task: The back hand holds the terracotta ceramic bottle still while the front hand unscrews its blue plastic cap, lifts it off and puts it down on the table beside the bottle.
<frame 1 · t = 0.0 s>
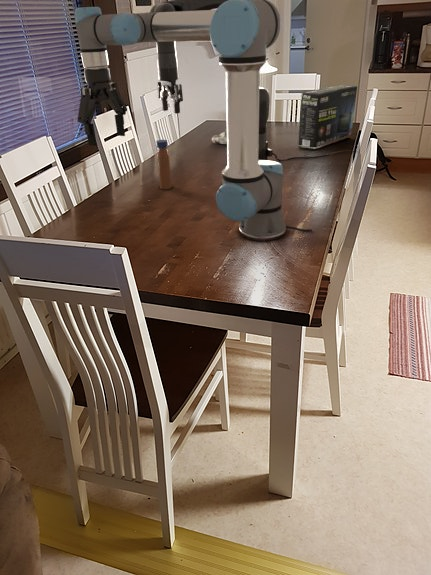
front hand: (107, 140, 148), 28 cm above the table, tool pointing down, fingers open, 13 cm apart
back hand: (171, 111, 179), 29 cm above the table, tool pointing down, fingers open, 8 cm apart
bottle: (166, 187, 192), on the table
router box: (325, 143, 245), on the table
fossil: (227, 142, 253), on the table
cap: (161, 141, 182), point 19 cm above the table, screwed on, not yet turned
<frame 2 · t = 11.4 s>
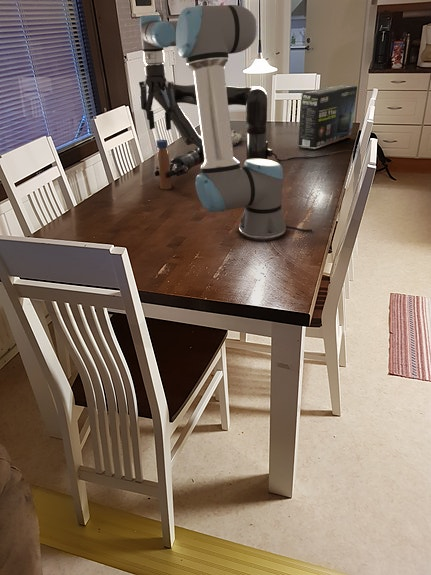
front hand: (160, 128, 179), 24 cm above the table, tool pointing down, fingers open, 7 cm apart
back hand: (161, 174, 186), 6 cm above the table, tool horizontal, fingers closed on bottle, 4 cm apart
bottle: (166, 187, 192), on the table, touching back hand
everything else where it was.
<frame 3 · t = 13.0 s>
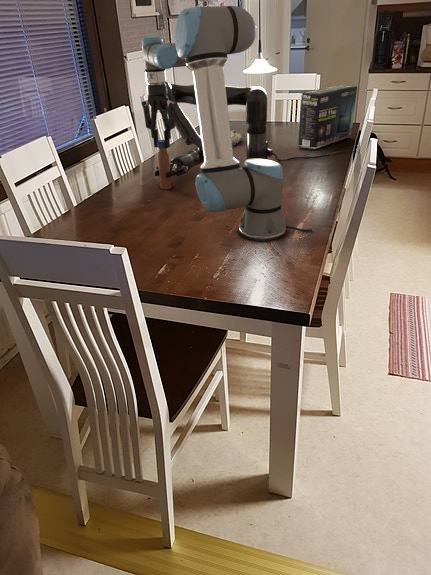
front hand: (162, 146, 183), 17 cm above the table, tool pointing down, fingers closed on cap, 4 cm apart
back hand: (161, 174, 186), 6 cm above the table, tool horizontal, fingers closed on bottle, 4 cm apart
bottle: (166, 187, 192), on the table, touching back hand
cap: (161, 141, 182), point 19 cm above the table, screwed on, not yet turned, touching front hand
everything else where it was.
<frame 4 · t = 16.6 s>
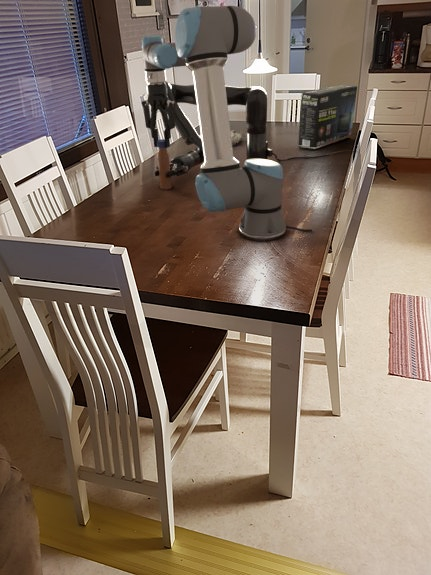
front hand: (162, 146, 183), 17 cm above the table, tool pointing down, fingers closed on cap, 4 cm apart
back hand: (161, 174, 186), 6 cm above the table, tool horizontal, fingers closed on bottle, 4 cm apart
bottle: (166, 187, 192), on the table, touching back hand
cap: (161, 141, 182), point 19 cm above the table, turned 111° so far, risen 0.1 cm, still on its thread, touching front hand
everything else where it was.
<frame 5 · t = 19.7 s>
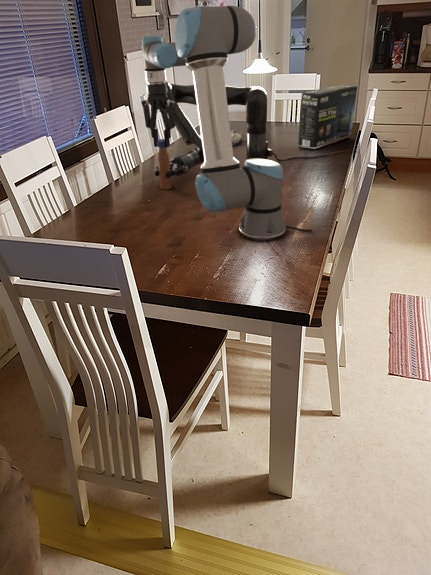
front hand: (162, 146, 183), 17 cm above the table, tool pointing down, fingers closed on cap, 4 cm apart
back hand: (161, 174, 186), 6 cm above the table, tool horizontal, fingers closed on bottle, 4 cm apart
bottle: (166, 187, 192), on the table, touching back hand
cap: (161, 141, 182), point 19 cm above the table, turned 223° so far, risen 0.2 cm, still on its thread, touching front hand
everything else where it was.
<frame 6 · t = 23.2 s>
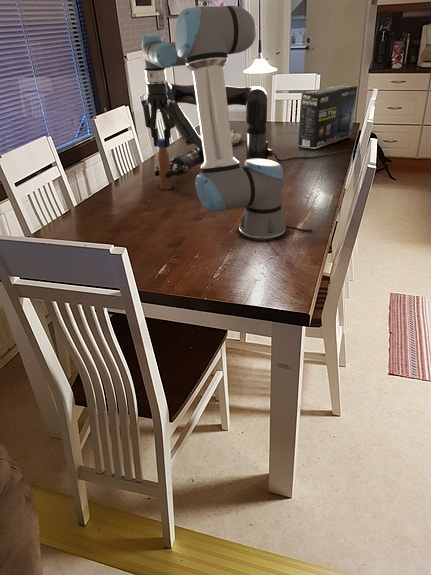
front hand: (162, 145, 183), 17 cm above the table, tool pointing down, fingers closed on cap, 4 cm apart
back hand: (161, 174, 186), 6 cm above the table, tool horizontal, fingers closed on bottle, 4 cm apart
bottle: (166, 187, 192), on the table, touching back hand
cap: (161, 140, 182), point 19 cm above the table, turned 334° so far, risen 0.3 cm, still on its thread, touching front hand
everything else where it was.
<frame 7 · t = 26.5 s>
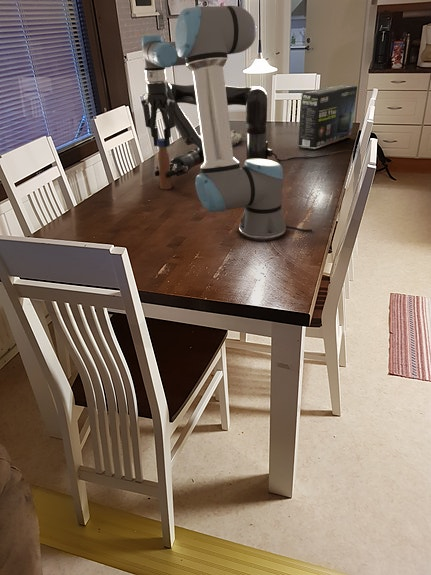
front hand: (162, 145, 183), 17 cm above the table, tool pointing down, fingers closed on cap, 4 cm apart
back hand: (161, 174, 186), 6 cm above the table, tool horizontal, fingers closed on bottle, 4 cm apart
bottle: (166, 187, 192), on the table, touching back hand
cap: (161, 140, 182), point 19 cm above the table, turned 446° so far, risen 0.5 cm, still on its thread, touching front hand
everything else where it was.
when the front hand's fingers open (1 cm above the table, at t = 32.6 s): cap stays where it is, point 2 cm above the table.
when the back hand's fingers open (6 cm above the table, at t = 33.9 s): bottle stays where it is, on the table.
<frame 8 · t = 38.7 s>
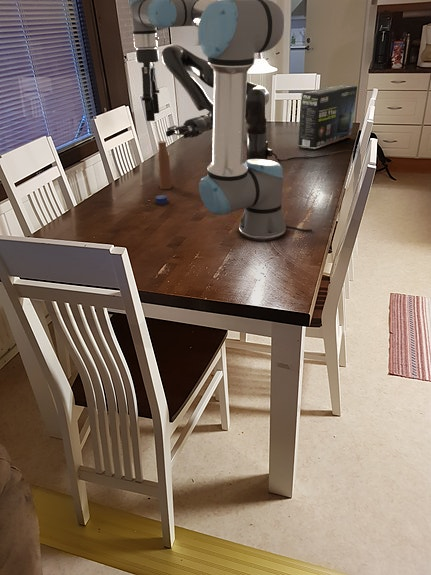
front hand: (153, 117, 160), 31 cm above the table, tool pointing down, fingers open, 13 cm apart
back hand: (175, 134, 190), 19 cm above the table, tool horizontal, fingers open, 8 cm apart
bottle: (166, 187, 192), on the table
cap: (161, 197, 175), point 2 cm above the table, off its thread
everything else where it was.
at the end: cap came off its thread; cap point 2.0 cm above the table; the front hand is holding nothing; the back hand is holding nothing; bottle tilted 0°; bottle moved 0.0 cm from its start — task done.
